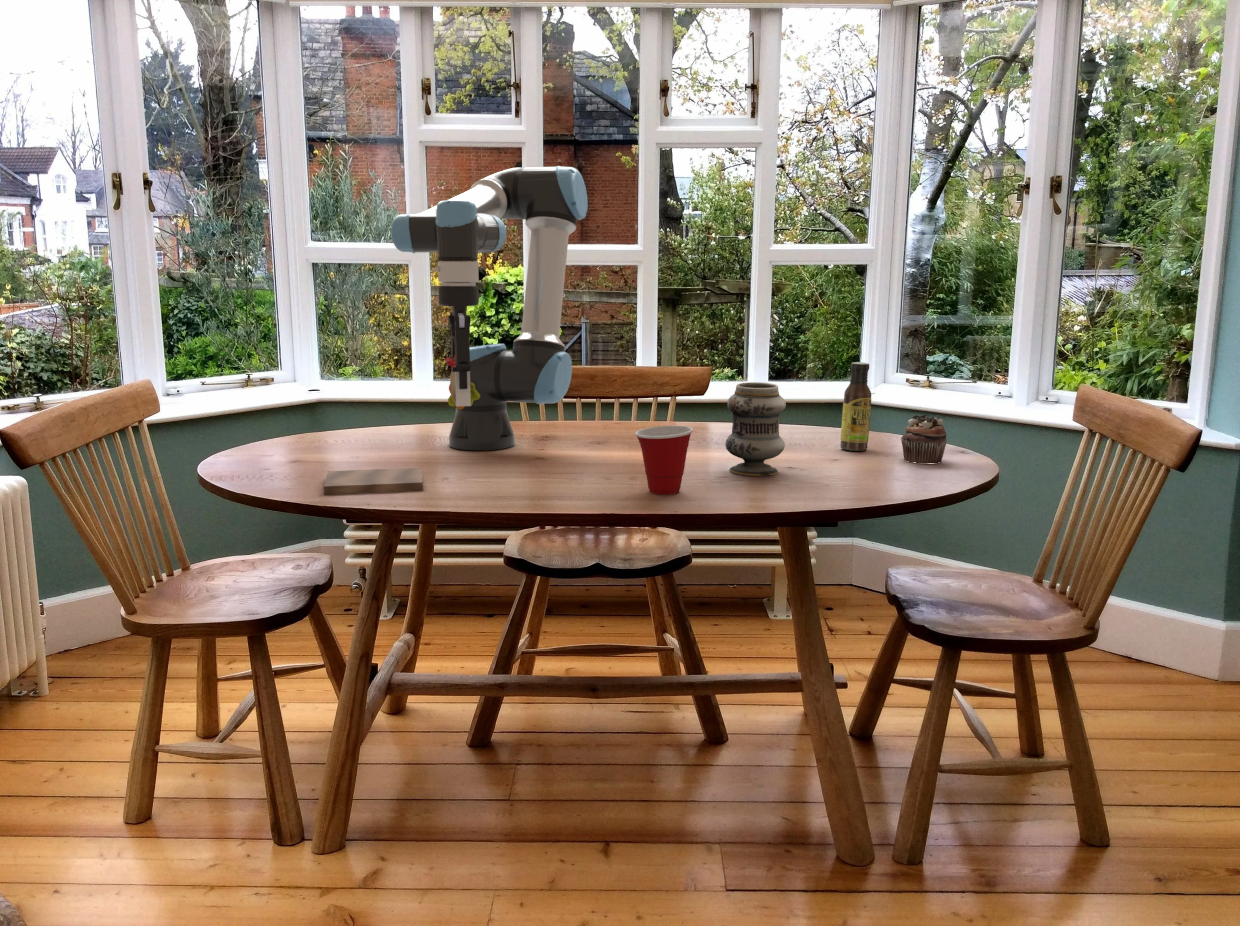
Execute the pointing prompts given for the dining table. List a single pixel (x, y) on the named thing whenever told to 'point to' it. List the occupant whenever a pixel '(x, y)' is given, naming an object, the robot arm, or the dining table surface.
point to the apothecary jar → (755, 427)
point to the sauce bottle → (856, 410)
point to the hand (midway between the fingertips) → (461, 402)
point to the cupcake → (924, 440)
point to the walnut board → (373, 481)
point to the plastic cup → (664, 456)
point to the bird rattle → (452, 387)
